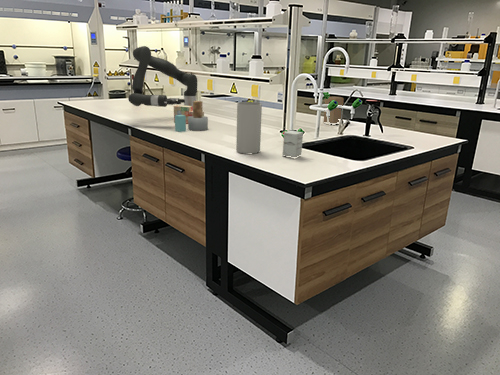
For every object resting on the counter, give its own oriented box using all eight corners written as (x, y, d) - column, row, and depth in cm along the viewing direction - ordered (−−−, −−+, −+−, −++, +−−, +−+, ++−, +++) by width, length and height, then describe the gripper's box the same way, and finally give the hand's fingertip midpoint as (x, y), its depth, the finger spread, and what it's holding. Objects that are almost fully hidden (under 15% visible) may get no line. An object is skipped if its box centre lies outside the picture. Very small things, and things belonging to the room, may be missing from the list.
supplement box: (281, 156, 200) (283, 132, 195) (289, 154, 205) (290, 130, 201) (295, 159, 196) (296, 134, 192) (301, 156, 202) (303, 131, 198)
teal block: (175, 130, 257) (174, 115, 254) (181, 129, 260) (181, 114, 257) (179, 131, 253) (178, 116, 250) (186, 131, 257) (185, 115, 253)
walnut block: (193, 117, 260) (193, 101, 256) (195, 116, 264) (195, 100, 261) (200, 117, 259) (200, 102, 256) (202, 116, 264) (202, 101, 261)
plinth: (184, 128, 265) (184, 116, 262) (200, 126, 273) (200, 114, 270) (195, 131, 256) (195, 119, 253) (211, 129, 264) (211, 117, 261)
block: (333, 125, 293) (335, 98, 287) (322, 123, 300) (325, 96, 294) (341, 124, 299) (344, 97, 293) (331, 122, 306) (333, 96, 300)
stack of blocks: (204, 124, 283) (204, 107, 279) (200, 125, 278) (199, 108, 274) (178, 121, 290) (178, 104, 287) (173, 123, 285) (173, 105, 281)
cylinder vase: (235, 148, 214) (236, 101, 205) (258, 149, 214) (260, 102, 206) (236, 154, 202) (237, 104, 194) (261, 154, 203) (263, 105, 195)
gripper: (154, 96, 254) (179, 97, 252) (162, 93, 267) (185, 94, 265) (155, 107, 257) (179, 109, 255) (163, 105, 270) (186, 106, 268)
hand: (182, 101), depth 260 cm, fingers open, 8 cm apart
